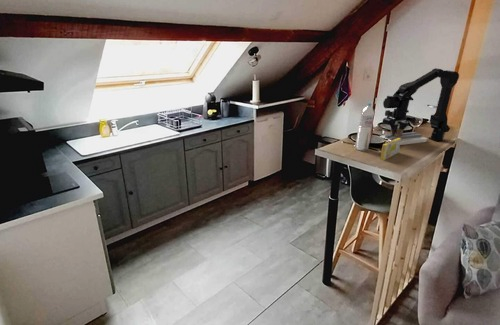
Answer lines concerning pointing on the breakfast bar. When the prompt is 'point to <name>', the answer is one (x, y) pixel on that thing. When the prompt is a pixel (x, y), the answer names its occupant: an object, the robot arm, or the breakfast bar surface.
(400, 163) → the breakfast bar surface
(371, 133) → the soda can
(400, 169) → the breakfast bar surface
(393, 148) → the candy box
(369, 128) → the water bottle
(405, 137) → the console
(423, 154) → the breakfast bar surface
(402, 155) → the breakfast bar surface
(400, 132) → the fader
